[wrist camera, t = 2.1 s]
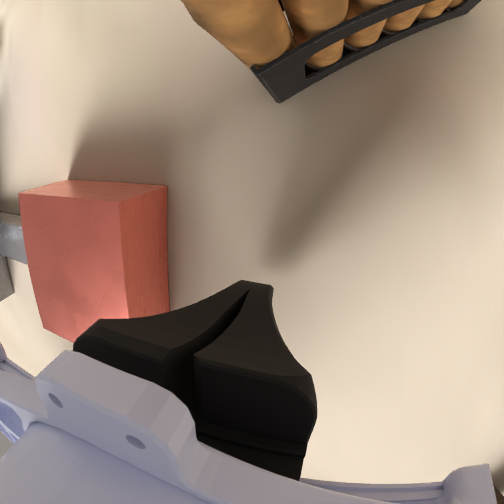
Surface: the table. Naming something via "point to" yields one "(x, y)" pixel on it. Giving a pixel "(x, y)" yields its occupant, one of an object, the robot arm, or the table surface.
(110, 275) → the red block
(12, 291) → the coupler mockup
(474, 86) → the table surface
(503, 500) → the plant pot
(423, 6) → the ammunition clip
